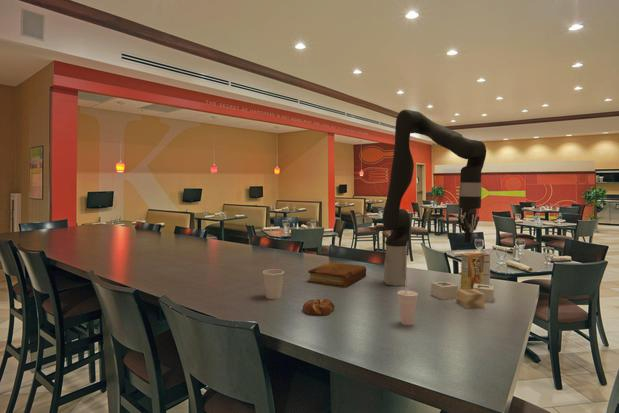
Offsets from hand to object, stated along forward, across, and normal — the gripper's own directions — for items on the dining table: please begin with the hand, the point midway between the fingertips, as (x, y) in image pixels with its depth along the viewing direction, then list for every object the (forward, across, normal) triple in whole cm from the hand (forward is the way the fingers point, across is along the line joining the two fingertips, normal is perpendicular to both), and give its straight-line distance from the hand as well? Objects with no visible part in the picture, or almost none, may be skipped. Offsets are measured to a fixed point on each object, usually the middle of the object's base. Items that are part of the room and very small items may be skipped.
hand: (468, 242), depth 140 cm
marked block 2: (+23, +11, -2) cm, 26 cm away
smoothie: (+23, -34, +4) cm, 41 cm away
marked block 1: (+23, +3, +10) cm, 25 cm away
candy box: (+23, +21, +7) cm, 32 cm away
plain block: (+23, 0, -1) cm, 23 cm away
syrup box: (+23, +33, +7) cm, 41 cm away
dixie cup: (+23, -46, +55) cm, 76 cm away
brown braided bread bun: (+24, -45, +32) cm, 60 cm away
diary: (+24, -7, +57) cm, 62 cm away
